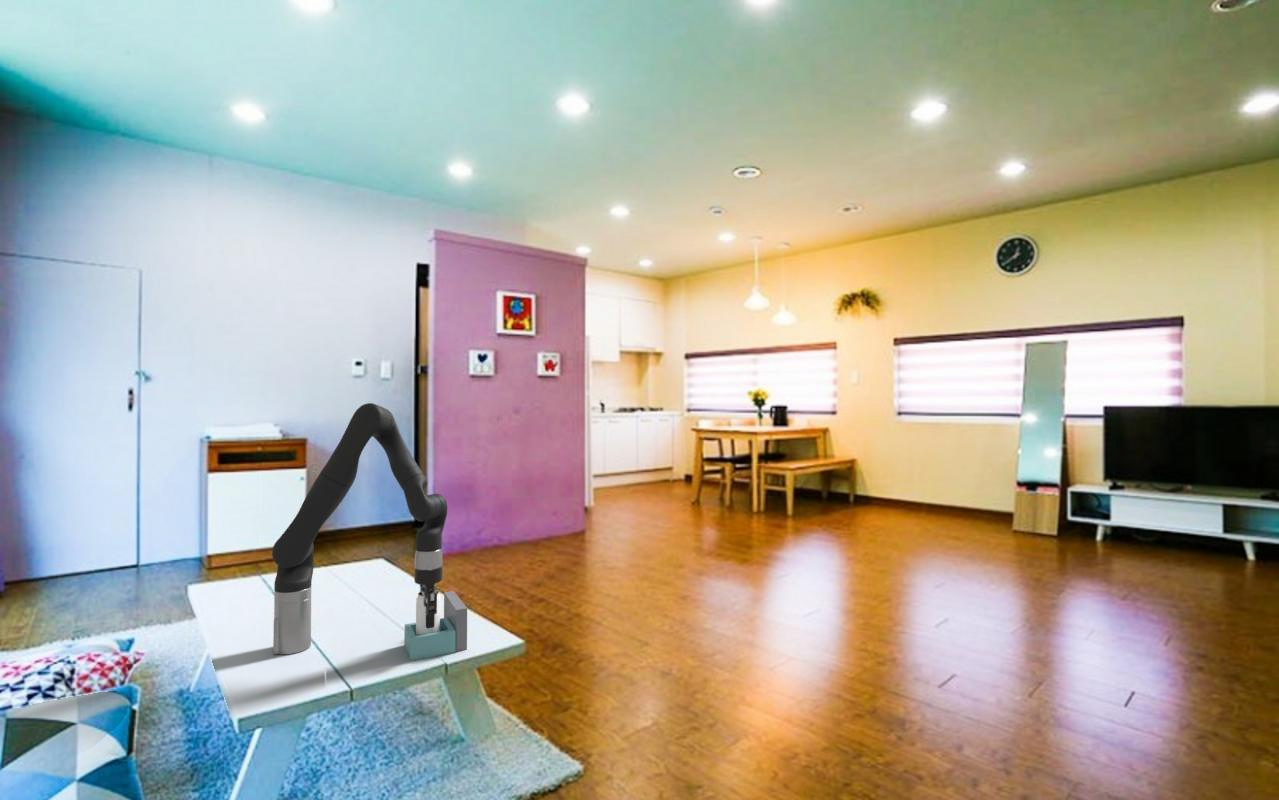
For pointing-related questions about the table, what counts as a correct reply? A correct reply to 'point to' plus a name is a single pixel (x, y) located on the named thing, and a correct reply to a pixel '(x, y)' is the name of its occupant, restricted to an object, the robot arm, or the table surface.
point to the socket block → (430, 641)
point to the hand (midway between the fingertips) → (427, 623)
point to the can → (421, 616)
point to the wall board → (456, 618)
